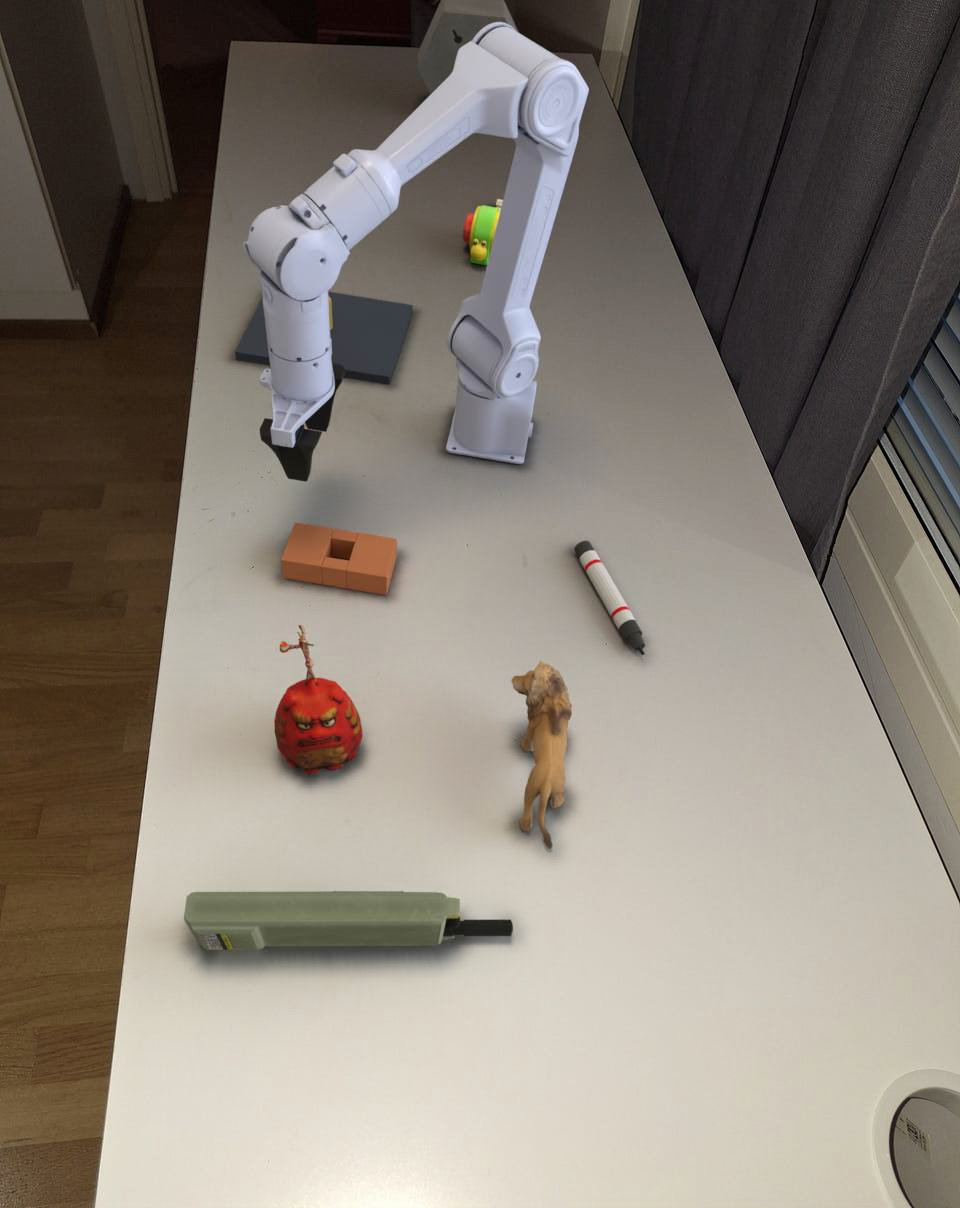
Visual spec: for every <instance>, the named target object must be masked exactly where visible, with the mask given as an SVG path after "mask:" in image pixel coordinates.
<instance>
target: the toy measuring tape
mask: <svg viewBox="0 0 960 1208" xmlns="http://www.w3.org/2000/svg"><path fill="white" fill-rule="evenodd" d="M502 203H503V199H501V198H497V199H496V202H495V207H494V206H489V205H477V207H476V208H475V210H474V213H468V214H467V215H466V217H465V220H464V224H463V231H462V239H463V241H464V242H465V243H467V244H468V243H469V250H470V251H469V253H470V260H469V261H470V263H472V264H477V265H481V266H487V264H488V260H489V256H490V251H491V247H492V243H493V239H494V235H495V231H496V227H497V223H498V219H499V215H500V211H501V207H502Z"/></svg>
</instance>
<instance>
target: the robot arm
mask: <svg viewBox="0 0 960 1208" xmlns="http://www.w3.org/2000/svg"><path fill="white" fill-rule="evenodd" d="M518 32H519V31H518ZM518 32H517V31H516V30H515V29H514V28H513V27H512V26H510V25H508V24H506V23H503V22H494V23H491V24H489V25H487V26H485V27H484V28H483V29H481V30H480V31H479V32H478V33H477V34H476V36H475V37H474V38H473V40H472V41H470V42H469V43H467V44H465V45H464V46H462V47H461V48H460V49H459V50H458V53H457V56H456V60H455V65H454V69H453V71H452V73H451V75H450V76H449V77H448V78H447V79H446V80H445V81H444V82H443V83H442V84H441V85H440V86H439V87H438V88H437V89H436V90H435V91H434V92H433V93H432V94H431V95H430V94H429V96H428V97H427V98H425V99H424V100H423V101H422V103H420V105H419V106H418V107H416V109H414V110H413V112H412V113H411V114H409V116H408V117H406V119H405V120H404V121H403V122H402V123H401V124H399V126H398V127H397V128H396V129H395V130H394V131H393V132H392V133H391V134H390V135H389V136H388V137H387V138H386V139H385V140H384V141H383V142H381V144H380V145H379V146H378V147H377V148H376V149H373V150H369V149H359V148H354V149H352V150H351V151H349V153H347V154H346V153H342V154H340V156H339V157H337V158H336V159H335V160H334V161H333V162H332V163H333V166H332V167H331V168H330V169H329V170H327V171H326V172H325V173H324V174H323V175H322V176H321V177H319V178H318V179H316V181H315V182H314V183H312V184H311V185H310V186H309V187H307V189H305V190H304V191H303V192H302V193H301V194H299V195H297V196H296V197H295V198H293V200H292V201H290V203H289V204H288V205H283V204H282V205H278V206H272V207H269V208H267V209H265V210H263V211H262V212H260V213H259V214H258V215H256V217H255V219H254V220H253V221H252V223H251V225H250V228H249V231H248V237H247V240H245V241H243V242H242V247H243V250H244V253H245V255H246V257H247V258H248V260H249V262H251V263H252V264H253V265H254V266H255V267H257V269H258V271H259V279H260V288H261V296H262V297H263V308H264V317H265V325H266V334H267V343H268V351H269V360H270V365H269V368H265V369H264V370H263V371H262V373H261V375H260V377H259V384H260V386H261V387H263V388H268V389H269V390H270V398H271V407H272V409H271V410H272V418H266V417H264V419H263V421H262V423H261V425H260V427H259V436H260V440H261V442H262V443H264V444H265V445H266V446H267V447H269V449H270V450H271V451H272V452H273V453H274V454H275V456H276V457H277V459H278V461H279V463H280V466H281V467H282V469H283V472H284V474H285V476H286V477H287V479H288V480H294V481H299V482H305V483H306V482H308V480H309V478H310V475H311V472H312V464H313V463H312V462H313V454H314V451H315V448H316V447H317V445H318V443H319V441H320V438H321V436H322V433H323V432H324V433H326V432H327V431H328V428H329V426H330V422H331V418H332V411H333V406H334V401H335V397H336V393H337V391H338V389H339V387H340V386H341V384H342V382H343V380H344V378H345V377H344V375H345V368H344V366H342V365H340V364H337V363H332V361H331V355H332V343H331V338H330V320H329V299H328V292H329V290H331V289H332V288H333V286H334V285H335V283H336V282H337V280H338V278H339V276H340V272H341V269H342V267H343V264H344V263H345V262H346V261H347V260H348V259H349V258H348V257H349V256H350V254H351V252H350V250H352V249H353V248H354V247H355V246H356V245H358V244H359V242H361V241H362V240H363V239H364V238H365V237H366V236H368V235H369V234H370V233H371V232H372V231H374V229H376V228H377V227H378V226H379V225H381V224H382V222H384V221H385V220H386V219H387V218H388V217H390V216H391V215H392V214H393V213H394V212H395V211H396V210H397V209H398V207H399V203H400V202H399V201H400V196H401V195H400V194H401V189H402V186H404V185H405V184H406V183H407V182H409V181H410V180H412V179H413V178H414V177H415V176H417V175H418V174H420V173H421V172H423V171H424V170H425V169H427V168H428V167H429V166H431V165H432V164H433V163H435V162H436V161H437V160H438V159H440V158H442V157H443V156H445V154H447V153H448V152H449V151H451V150H453V149H454V148H455V147H457V145H459V144H460V143H462V142H463V141H464V140H466V139H467V138H468V137H470V136H471V135H473V134H480V135H481V134H482V135H488V136H495V137H501V138H507V139H513V141H514V143H515V151H514V154H513V158H512V161H511V162H512V163H511V166H510V171H509V174H508V179H507V184H506V187H505V191H504V195H503V199H502V200H503V203H502V207H501V211H500V215H499V219H498V223H497V227H496V231H495V235H494V239H493V243H492V247H491V251H490V256H489V260H488V264H487V265H486V269H485V272H484V277H483V281H482V284H481V288H480V292H479V293H476V294H472V295H471V296H468V297H466V298H465V299H463V300H462V301H461V305H460V310H459V312H458V315H457V317H456V319H455V320H454V322H453V323H452V325H451V327H450V329H449V331H448V333H447V340H446V343H447V348H448V351H449V353H451V354H452V356H454V357H455V358H456V359H455V368H457V370H458V376H457V387H456V398H455V399H456V400H455V409H454V413H453V416H452V421H451V425H450V430H449V433H448V438H447V442H446V446H445V451H446V452H447V453H449V454H454V455H455V454H456V455H460V456H461V455H462V456H467V457H473V458H480V459H485V460H491V461H498V462H503V463H504V462H505V463H511V464H515V465H516V464H517V465H523V464H524V462H525V457H526V451H527V446H528V440H529V438H531V437H532V434H533V428H534V422H532V418H533V411H534V405H535V400H536V399H535V398H536V394H537V388H538V387H537V386H538V381H537V380H534V379H535V377H536V375H537V371H538V369H539V364H540V363H539V361H540V359H539V347H540V342H541V340H542V337H541V333H540V330H539V327H538V325H537V323H536V321H535V318H534V315H533V313H532V311H531V307H530V305H531V303H532V299H533V295H534V292H535V288H536V286H537V282H538V278H539V275H540V271H541V267H542V264H543V261H544V259H545V258H544V257H545V254H546V251H547V247H548V243H549V241H550V237H551V233H552V231H553V227H554V224H555V223H554V222H555V219H556V217H557V213H558V209H559V206H560V203H561V199H562V197H563V193H564V189H565V186H566V182H567V178H568V175H569V172H570V168H571V165H572V162H573V157H574V154H575V151H576V148H577V144H578V141H579V133H580V123H581V120H582V115H583V112H584V108H585V105H586V102H587V98H588V95H589V92H590V89H589V86H588V84H587V82H586V81H585V79H584V78H583V76H582V75H581V73H580V71H579V69H578V68H577V66H576V65H575V64H574V63H572V62H571V61H569V60H566V59H563V58H560V57H558V56H557V55H556V54H554V53H553V52H551V51H549V50H547V49H546V48H545V47H543V46H541V45H539V44H538V43H536V42H534V41H533V40H531V39H529V38H528V37H526V36H525V35H523V34H521V33H520V32H519V33H518ZM262 297H261V298H262ZM305 426H306V428H305Z"/></svg>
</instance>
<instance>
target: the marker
mask: <svg viewBox="0 0 960 1208" xmlns="http://www.w3.org/2000/svg"><path fill="white" fill-rule="evenodd" d="M573 549H574V552H575V555H577V558H578V559H579V561H580V564H581V566H582V568H583V570H584V571H585V573H586V575H587V577H588V579H589V580H590V582H591V583H592V585H593V586H594V589H595V591H596V593H597V594H598V596H599V598H600V599H601V601H602V603H603V605H604V606H605V609H606V610H607V612H608V613H609V616H610V617H611V619H612V621H613V623H614V625H615V626H616V628H617V630H618V631H619V633H620V634H621V636H622V638H623V640H624V641H625V642H626V643H627V644H628V643H629V644H630V646H631V647H632V648H633V650H634V651H635V652H639V653H640V655H641V656H644V655H646V653H645V651H644V648H645V647H646V644H645V641H644V639H643V637H642V636H643V631H642V630H641V627H640V626H639V624H638V622H637V620H636V619H635V616H634V615H633V613H632V612H631V610H630V608H629V607H628V605H627V603H626V601H625V600H624V597H623V595H622V594H621V592H620V591H619V589H618V587H617V586H616V584H615V582H614V580H613V579H612V577H611V575H610V574H609V571H608V570H607V568H606V567H605V565H604V563H603V562H602V559H600V557H599V554H598V553H597V551H596V550H595V549H594V547H593V545H592V544H591V542H590V541H589V540H582V541H580V542H578V543H577V544H576V545H575V546H574V548H573Z"/></svg>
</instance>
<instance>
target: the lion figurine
mask: <svg viewBox="0 0 960 1208" xmlns="http://www.w3.org/2000/svg"><path fill="white" fill-rule="evenodd" d="M510 681H511V682H510V683H511V684H512V688H513V689H514V690H515V691H516V692H517V693H518V694H520V695H522V696H525V697H526V698H525V705H526V706H527V707H526V708H527V709H526V715H527V720H528V724H527V728H526V730H525V731H526V732H525V738H523V739H521V742H519V746H520V747H521V748H522V749H523V750H524V751H525V752H533V761H534V764H535V765H534V766H533V767H532V769H531V771H530V773H529V776H528V778H527V782H526V786H525V788H524V796H523V815H522V817H521V819H520V820H519V821H518V822H519V823H518V824H519V828H520V829H521V830H522V831H531V829H532V826H533V817H534V816H533V807H534V804H535V802H536V800H537V798H538V797H539V804H538V811H537V812H538V813H537V823H538V828H539V830H540V831H539V832H540V833H541V835H542V841H543V842H542V843H544V845H545V847H546V848H547V849H552V848H553V847H554V845H553V841H552V837H551V834H550V832H548V830H547V827H546V824H545V813H546V808H547V804H548V800H549V798H550V801H549V803H550V806H551V808H553V809H556V808H560V807H561V806H563V804H564V802H565V797H564V795H563V793H564V791H565V785H566V772H565V771H566V770H565V769H566V768H565V763H564V762H565V757H566V752H567V751H566V750H567V747H568V732H567V730H568V726H569V721H570V720H571V718H572V714H573V712H572V707H573V705H572V704H573V703H572V702H571V701H570V696H569V695H570V693H568V689H569V688H568V686H567V685H566V683H565V681H564V678H563V676H562V675H561V671H560V670H558V669H556V668H555V667H554V666H552V665H551V664H548V663H545V662H544V661H543V660H539V663H538V664H537V666H536V667H535V668H534V669H533V670H528V671H527V672H526V673H525V675H514V676H513V677H512V678H511V680H510Z"/></svg>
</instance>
